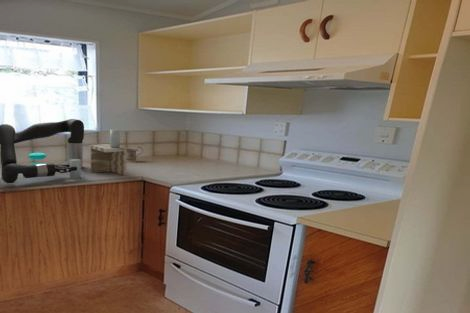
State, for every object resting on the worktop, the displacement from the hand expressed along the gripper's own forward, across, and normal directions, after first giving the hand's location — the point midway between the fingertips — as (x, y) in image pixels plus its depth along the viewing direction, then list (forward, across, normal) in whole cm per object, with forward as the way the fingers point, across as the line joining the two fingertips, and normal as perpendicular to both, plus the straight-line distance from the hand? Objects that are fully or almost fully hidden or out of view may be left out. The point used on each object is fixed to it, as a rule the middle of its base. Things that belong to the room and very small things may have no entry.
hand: (73, 167), depth 199 cm
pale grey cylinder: (+24, -5, -11) cm, 27 cm away
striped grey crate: (+22, 0, +7) cm, 23 cm away
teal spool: (-7, +38, +7) cm, 39 cm away
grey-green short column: (+1, 0, +6) cm, 7 cm away
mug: (+60, +31, +7) cm, 68 cm away
